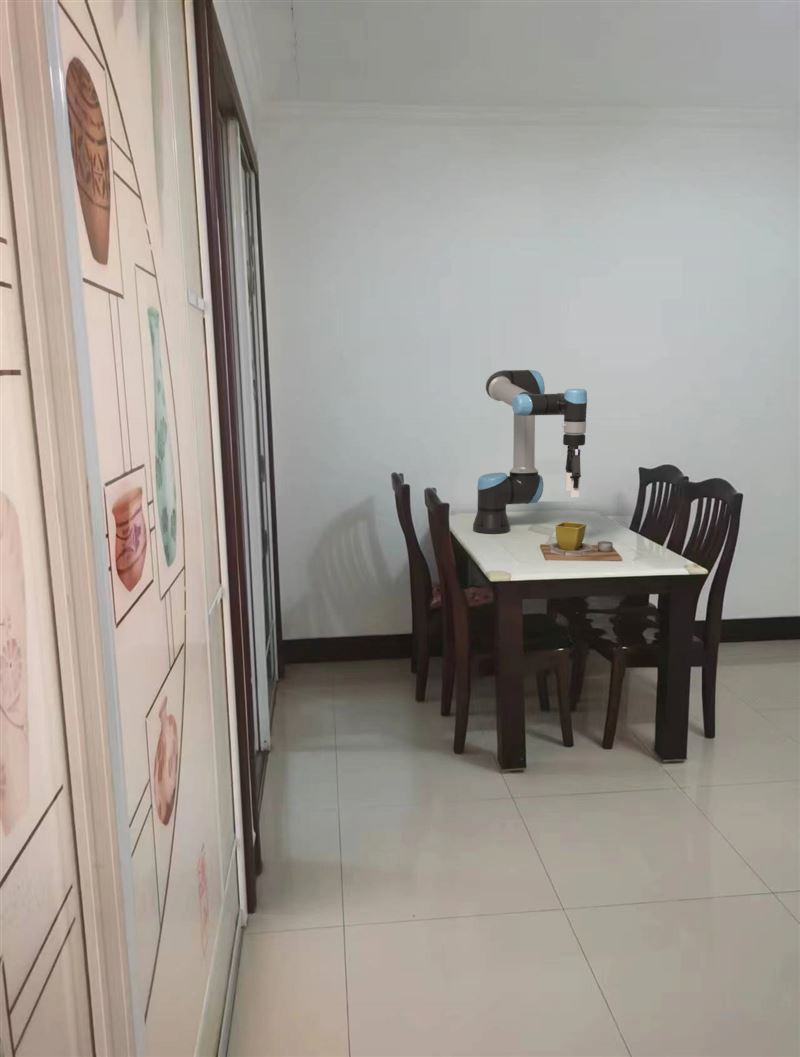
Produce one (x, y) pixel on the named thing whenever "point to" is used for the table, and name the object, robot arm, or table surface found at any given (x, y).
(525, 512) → the table surface
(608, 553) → the carrier board
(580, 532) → the flower pot
